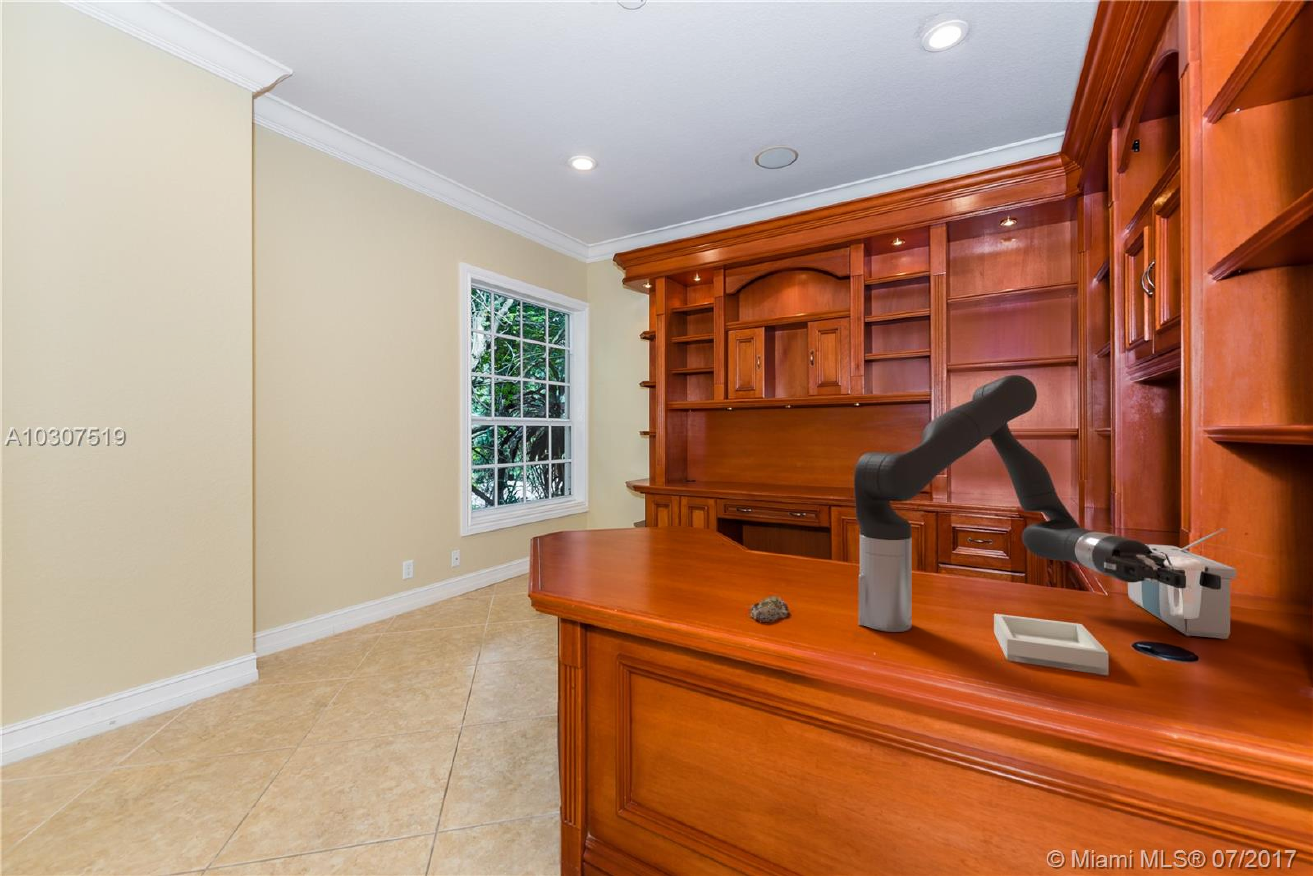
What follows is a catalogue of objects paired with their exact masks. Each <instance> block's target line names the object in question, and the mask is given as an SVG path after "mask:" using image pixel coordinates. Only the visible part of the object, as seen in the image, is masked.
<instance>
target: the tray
mask: <svg viewBox="0 0 1313 876" xmlns="http://www.w3.org/2000/svg"><path fill="white" fill-rule="evenodd" d="M993 632H994V635H995V637H996V640H997V641H998V644H999V645H1000V649H1001V650H1002V652H1003V654H1004V656H1005V658H1006V660H1007V661H1009V662H1016V663H1022V664H1030V665H1036V666H1043V667H1051V668H1056V669H1062V670H1069V671H1070V670H1071V671H1077V672H1083V673H1088V674H1096V675H1103V676H1109V652H1108V650H1106V649H1105V647H1104V646H1103V645H1102V644H1101V643H1100V642H1099V641H1098V640H1097V639H1096V638H1095V637H1094V635H1093V634H1092V633H1091V632H1090V631H1089V630H1088V629H1087V628H1086V627H1085V626H1084V625H1083V624H1082V623H1077V622H1076V623H1075V622H1066V621H1059V620H1050V619H1049V620H1048V619H1042V618H1033V617H1024V616H1016V615H1007V614H1002V613H1001V614H1000V613H994V614H993Z"/></svg>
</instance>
